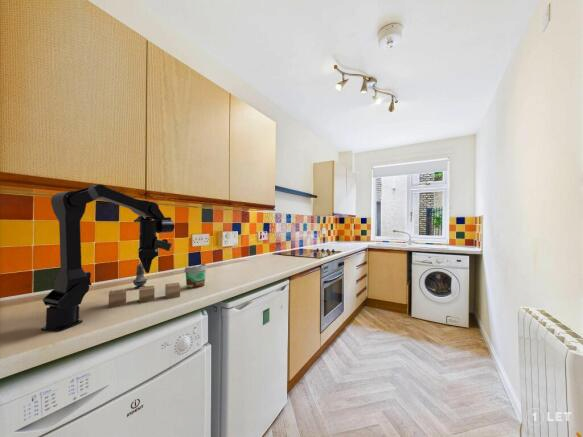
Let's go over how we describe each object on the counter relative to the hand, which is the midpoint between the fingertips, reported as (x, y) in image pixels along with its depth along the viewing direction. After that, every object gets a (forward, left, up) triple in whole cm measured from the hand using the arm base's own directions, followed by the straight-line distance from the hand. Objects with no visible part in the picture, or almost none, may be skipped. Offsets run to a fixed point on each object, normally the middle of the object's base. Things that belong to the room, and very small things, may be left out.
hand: (147, 272), depth 93 cm
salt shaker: (+17, +17, -11) cm, 26 cm away
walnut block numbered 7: (-6, +7, -11) cm, 14 cm away
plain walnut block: (0, 0, -11) cm, 11 cm away
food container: (+22, -10, -11) cm, 26 cm away
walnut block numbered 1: (+6, -7, -11) cm, 14 cm away
